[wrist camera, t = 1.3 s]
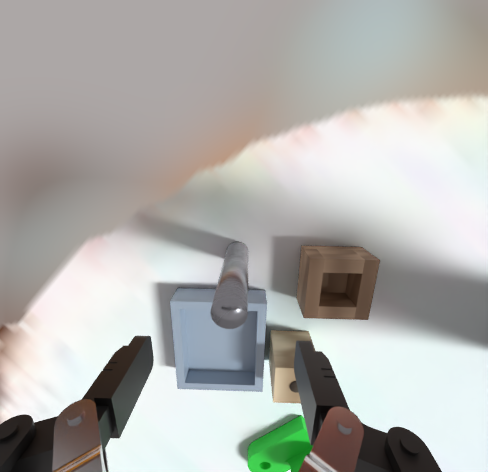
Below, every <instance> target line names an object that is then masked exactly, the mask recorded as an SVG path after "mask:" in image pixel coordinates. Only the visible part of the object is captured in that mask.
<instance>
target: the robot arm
mask: <svg viewBox="0 0 488 472" xmlns="http://www.w3.org/2000/svg"><path fill="white" fill-rule="evenodd" d="M152 367H153V350H152V342H151V337H150V336H135V337H134V338H133V339H132V341H131V342H130V344H129V346H123V347H122V348H120V349H119V350H118V351H117V352H115V353H114V355H113V356H112V357H111V359H110V360H109V362H108V364H107V365H106V366H105V367H104V369H103V371H102V372H101V373H100V374H99V376H98V377H97V379H96V380H95V381H94V383H93V384H92V386H91V387H90V388H89V390H88V391H87V393H86V394H85V396H84V397H83V398H82V400H79V401H77V402H74V403H73V404H71V405H69V406H68V407H67V408H65V409H64V410H63V411H62V412H61V413H60V415H59V416H57V417H53V418H50V419H46V420H42V421H39V422H35V423H34V422H33V419H32V417H31V416H29V415H19V416H15V417H13V418H10V419H8V420H7V421H5V422H3V423H2V424H0V472H109V468H108V461H107V454H106V448H105V447H106V445H107V444H108V442H109V440H110V438H120V436H121V434H122V432H123V430H124V428H125V425H126V423H127V421H128V419H129V417H130V415H131V413H132V411H133V408H134V406H135V404H136V402H137V400H138V398H139V396H140V394H141V391H142V389H143V387H144V385H145V383H146V381H147V379H148V377H149V374H150V372H151V370H152ZM294 373H295V378H296V383H297V387H298V392H299V396H300V401H301V405H302V410H303V414H304V419H305V423H306V428H307V432H308V437H309V441H310V445H313V448H312V450H311V452H310V454H307V455H306V457H305V459H304V461H303V463H302V465H301V467H300V470H299V472H442V471H441V469H440V468H439V466H438V464H437V463H436V461H435V459H434V457H433V456H432V454H431V452H430V451H429V449H428V447H427V446H426V445H425V443H424V442H423V441H422V440H421V439H420V438H419V437H418V436H417V435H415V434H414V433H413V432H411V431H409V430H407V429H405V428H402V427H393V428H391V429H390V430H389V431H388V433H385V432H382V431H379V430H376V429H373V428H371V427H368V426H366V425H365V424H363V423H362V422H361V421H360V420H359V418H358V417H357V416H356V415H355V414H354V413H353V412H352V411H350V409H349V407H348V405H347V403H346V400H345V398H344V395H343V393H342V391H341V388H340V386H339V383H338V381H337V378H336V376H335V374H334V371H333V370H332V366H331V364H330V362H329V359H328V358H327V357H326V356H325V355H324V354H323V353H322V352H317V351H314V348H313V345H312V342H311V341H296V348H295V358H294Z"/></svg>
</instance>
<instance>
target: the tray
mask: <svg viewBox="0 0 488 472" xmlns="http://www.w3.org/2000/svg"><path fill="white" fill-rule="evenodd" d="M215 292H216V289H201V288H177V290H176V292H175V294H174V295H173V297H172V299H171V300H170V307H171V319H172V330H173V342H174V353H175V365H176V376H177V387H178V389H199V390H229V391H258V392H262V389H263V370H264V350H265V331H266V311H267V301H266V293H265V290H248V316H247V319H246V321H245V323H244V324H243V325H241V326H240V327H238V328H235V329H225V328H222V327H219V326H218V325H216V324H215V323H214V321H213V320H212V318H211V313H210V312H211V307H212V303H213V299H214V296H215Z"/></svg>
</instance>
